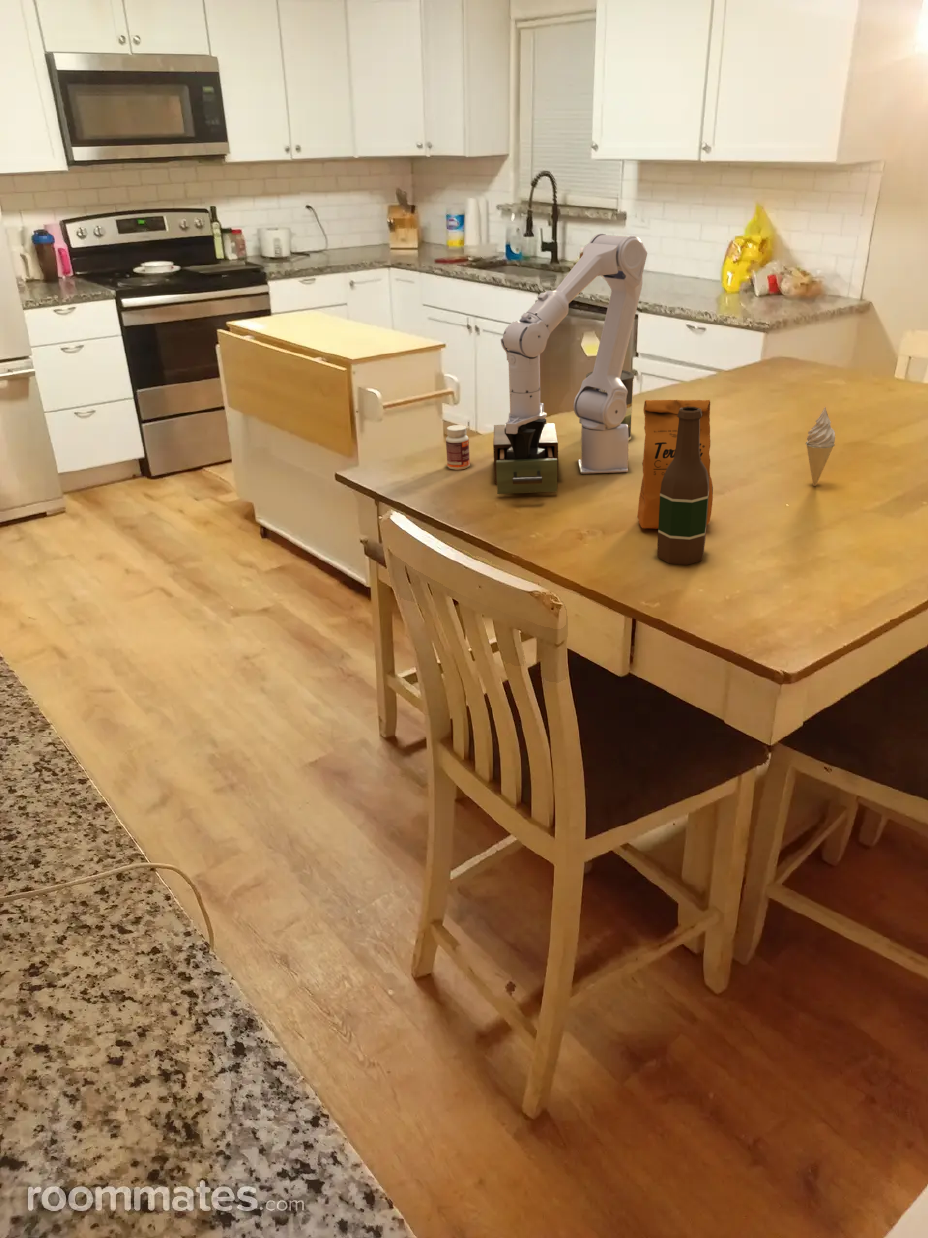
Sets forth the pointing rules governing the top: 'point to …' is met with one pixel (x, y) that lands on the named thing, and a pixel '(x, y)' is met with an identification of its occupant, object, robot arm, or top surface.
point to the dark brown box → (534, 454)
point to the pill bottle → (457, 447)
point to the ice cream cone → (820, 445)
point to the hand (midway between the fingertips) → (526, 460)
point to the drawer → (526, 474)
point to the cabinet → (546, 439)
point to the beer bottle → (684, 496)
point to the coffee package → (667, 452)
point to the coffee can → (628, 383)
